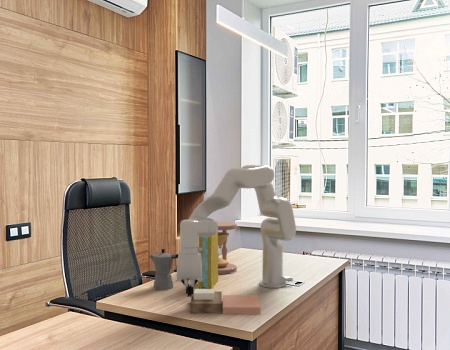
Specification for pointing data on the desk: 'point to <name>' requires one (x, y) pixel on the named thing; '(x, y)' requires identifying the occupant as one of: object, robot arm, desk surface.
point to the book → (209, 261)
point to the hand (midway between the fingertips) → (189, 295)
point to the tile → (204, 294)
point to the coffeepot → (163, 270)
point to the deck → (207, 305)
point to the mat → (241, 304)
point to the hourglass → (225, 248)
